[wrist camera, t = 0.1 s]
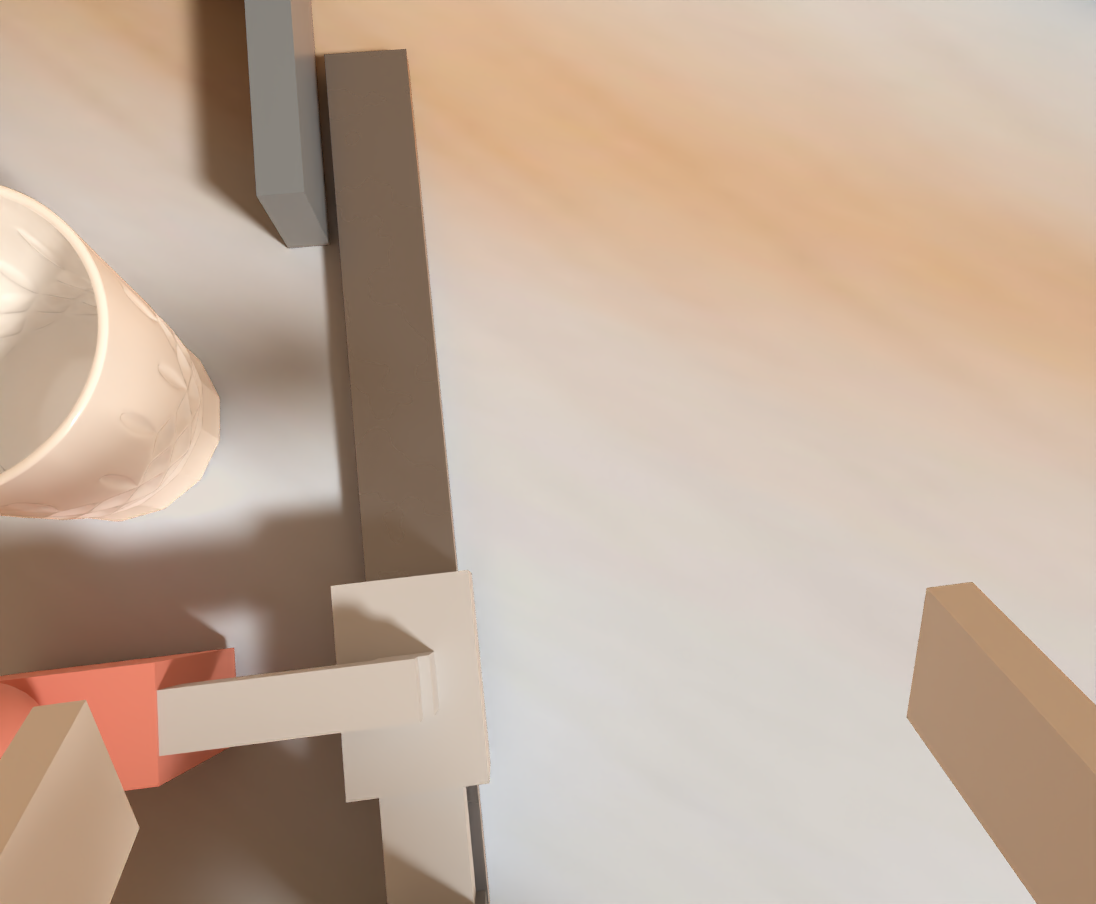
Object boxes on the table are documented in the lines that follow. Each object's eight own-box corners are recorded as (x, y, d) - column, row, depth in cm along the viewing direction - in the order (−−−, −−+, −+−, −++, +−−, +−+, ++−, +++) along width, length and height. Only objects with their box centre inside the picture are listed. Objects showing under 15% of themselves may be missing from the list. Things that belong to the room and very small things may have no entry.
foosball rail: (489, 901, 27) (489, 913, 26) (396, 915, 27) (392, 927, 26) (408, 66, 32) (405, 48, 31) (329, 71, 32) (324, 54, 31)
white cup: (177, 573, 28) (3, 560, 18) (-36, 486, 28) (-324, 426, 18) (277, 366, 30) (166, 250, 20) (74, 283, 30) (-138, 127, 20)
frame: (329, 244, 30) (270, 121, 23) (-100, 281, 29) (-321, 164, 21) (306, -55, 32) (244, -263, 25) (-96, -32, 31) (-295, -243, 23)
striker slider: (512, 973, 26) (524, 1363, 13) (16, 1048, 25) (-537, 1561, 12) (472, 574, 28) (447, 551, 15) (12, 626, 27) (-461, 655, 14)
